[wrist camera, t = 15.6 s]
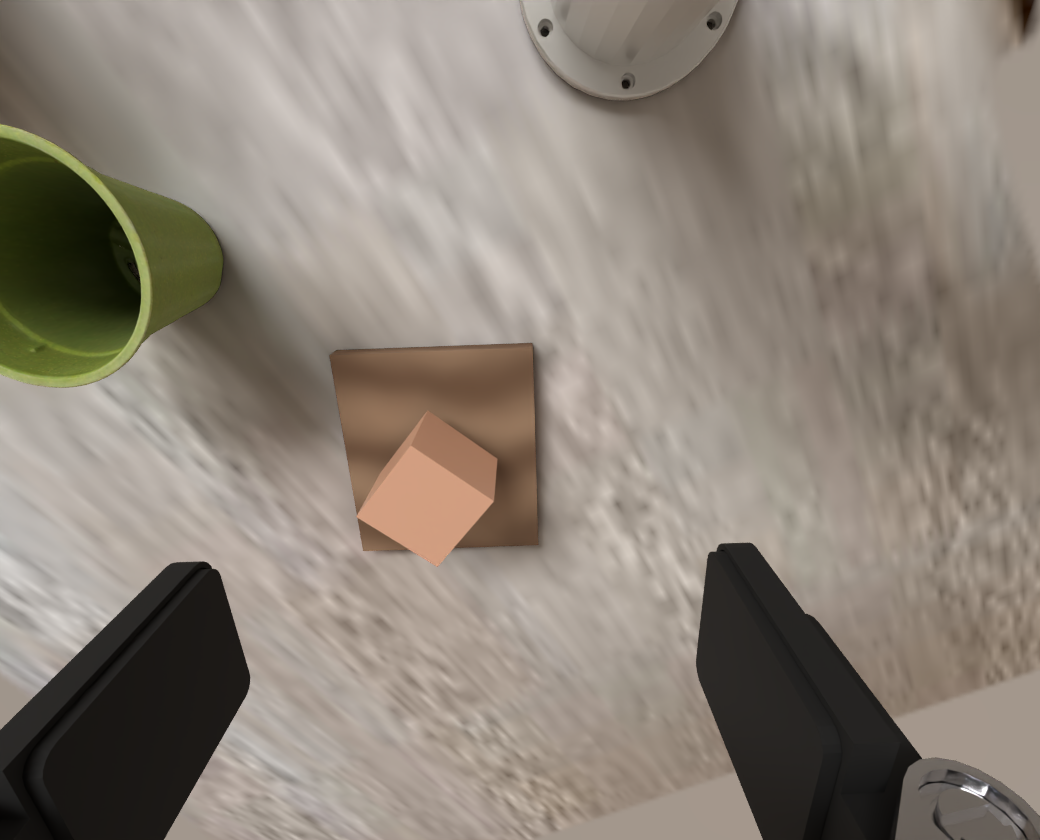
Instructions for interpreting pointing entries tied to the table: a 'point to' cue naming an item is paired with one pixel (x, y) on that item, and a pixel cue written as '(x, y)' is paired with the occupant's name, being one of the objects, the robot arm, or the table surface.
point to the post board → (458, 402)
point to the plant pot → (89, 265)
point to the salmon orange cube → (431, 490)
